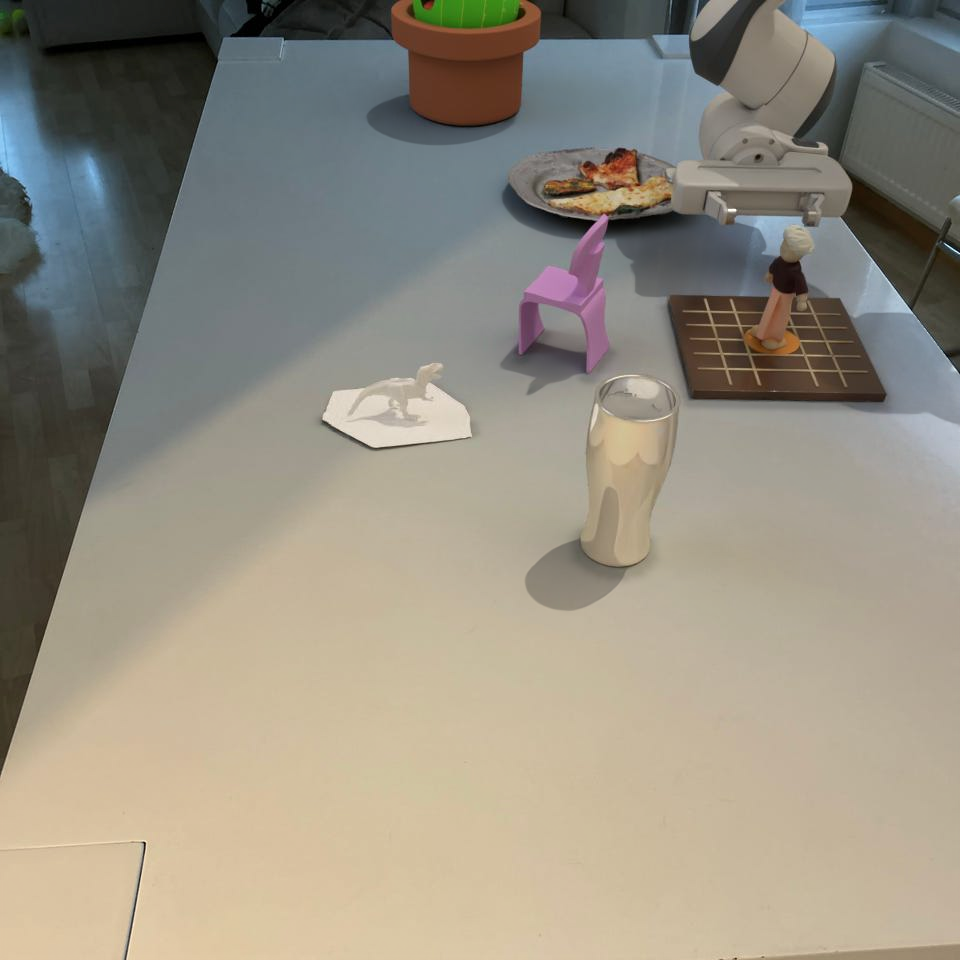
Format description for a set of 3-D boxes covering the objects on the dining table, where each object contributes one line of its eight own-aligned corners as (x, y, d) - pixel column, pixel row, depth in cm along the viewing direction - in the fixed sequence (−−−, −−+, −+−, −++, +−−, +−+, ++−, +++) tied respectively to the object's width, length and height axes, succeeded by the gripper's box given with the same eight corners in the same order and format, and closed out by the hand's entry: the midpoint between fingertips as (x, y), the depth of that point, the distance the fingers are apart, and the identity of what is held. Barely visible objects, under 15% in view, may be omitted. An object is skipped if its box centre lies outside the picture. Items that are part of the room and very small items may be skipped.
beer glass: (601, 508, 89) (621, 362, 78) (668, 538, 86) (699, 391, 75) (560, 549, 85) (574, 401, 74) (629, 582, 83) (655, 434, 72)
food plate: (645, 155, 145) (649, 129, 143) (719, 221, 130) (725, 194, 128) (486, 173, 140) (486, 147, 137) (544, 245, 125) (546, 218, 122)
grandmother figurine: (734, 329, 109) (759, 215, 100) (761, 321, 110) (788, 208, 101) (779, 362, 105) (811, 246, 95) (807, 353, 106) (840, 238, 97)
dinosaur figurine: (319, 464, 97) (303, 413, 92) (341, 384, 104) (327, 333, 99) (469, 463, 95) (461, 411, 90) (481, 381, 102) (474, 329, 97)
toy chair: (541, 323, 111) (550, 189, 100) (613, 342, 109) (630, 206, 98) (510, 357, 106) (516, 220, 95) (585, 378, 104) (600, 240, 93)
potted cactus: (470, 74, 168) (472, -106, 150) (562, 110, 157) (576, -80, 139) (369, 103, 158) (357, -87, 139) (459, 144, 147) (460, -56, 128)
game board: (837, 305, 115) (840, 296, 115) (883, 401, 102) (887, 392, 101) (668, 302, 115) (669, 293, 114) (691, 398, 102) (693, 388, 101)
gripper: (666, 139, 115) (682, 188, 106) (839, 143, 116) (870, 192, 106) (658, 193, 120) (672, 245, 111) (824, 197, 120) (853, 249, 111)
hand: (771, 219), depth 108 cm, fingers open, 8 cm apart
